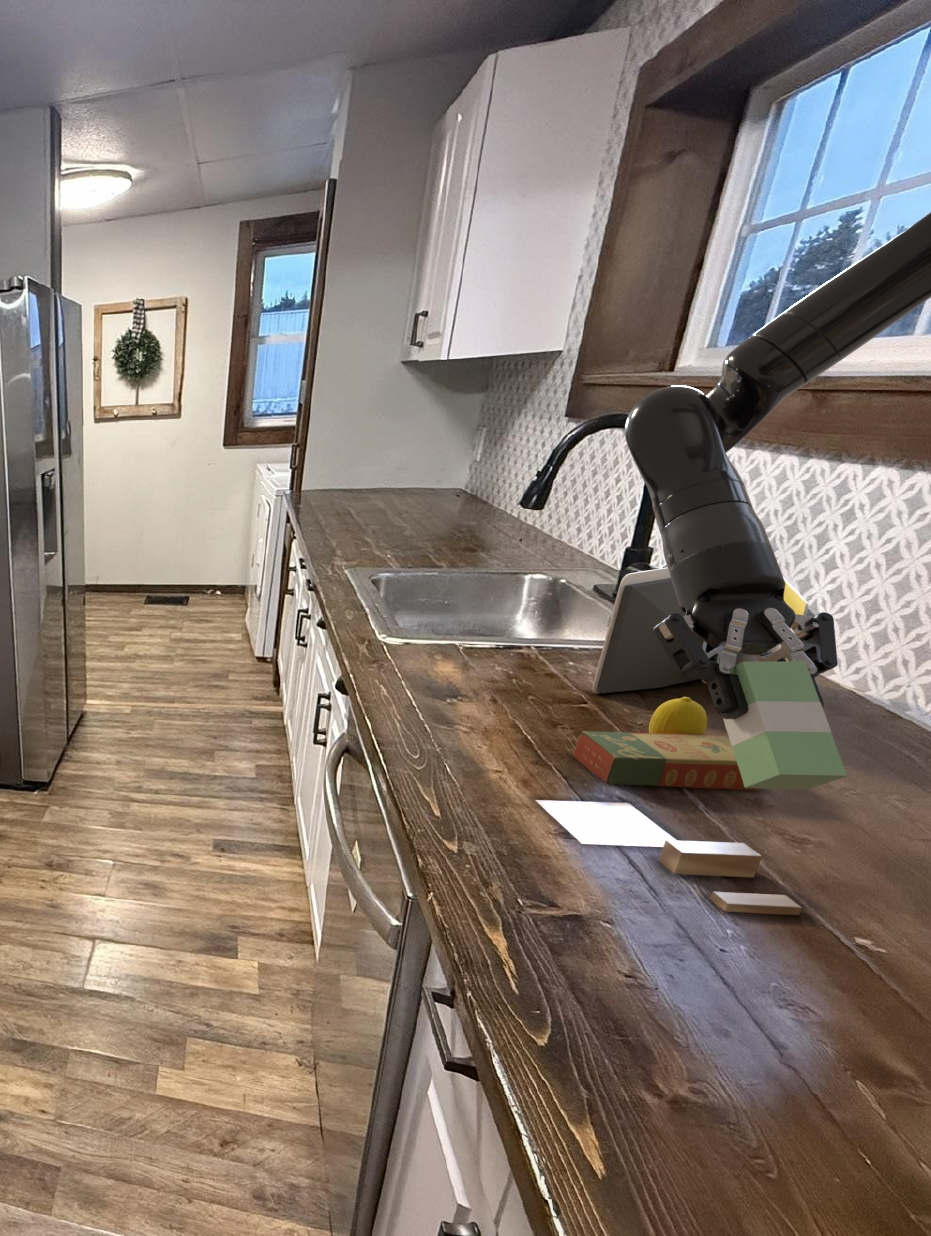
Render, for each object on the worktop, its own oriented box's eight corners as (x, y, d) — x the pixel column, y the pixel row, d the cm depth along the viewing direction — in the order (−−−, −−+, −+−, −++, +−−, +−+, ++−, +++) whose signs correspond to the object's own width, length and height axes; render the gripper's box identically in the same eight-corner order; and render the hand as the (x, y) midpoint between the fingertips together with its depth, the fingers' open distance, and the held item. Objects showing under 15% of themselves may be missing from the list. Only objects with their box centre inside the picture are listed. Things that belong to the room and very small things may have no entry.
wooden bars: (657, 863, 80) (665, 839, 79) (734, 866, 79) (743, 842, 78) (717, 914, 72) (727, 888, 71) (804, 918, 71) (815, 892, 70)
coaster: (627, 805, 91) (628, 802, 91) (686, 851, 82) (687, 848, 81) (534, 802, 92) (534, 799, 92) (581, 847, 83) (582, 844, 83)
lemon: (704, 763, 99) (724, 706, 96) (652, 759, 101) (670, 703, 98) (684, 746, 104) (702, 691, 101) (634, 742, 106) (651, 688, 103)
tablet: (795, 747, 103) (853, 604, 95) (591, 718, 114) (628, 588, 107) (745, 671, 129) (787, 554, 121) (583, 653, 141) (612, 545, 133)
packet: (686, 751, 78) (720, 652, 74) (743, 752, 77) (781, 652, 73) (768, 802, 68) (812, 691, 64) (835, 804, 67) (884, 691, 63)
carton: (758, 793, 92) (771, 761, 90) (604, 786, 95) (614, 755, 94) (712, 763, 99) (723, 732, 98) (571, 757, 103) (579, 728, 101)
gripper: (662, 540, 75) (713, 699, 68) (835, 536, 72) (904, 701, 66) (615, 582, 82) (656, 730, 75) (771, 580, 79) (828, 733, 73)
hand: (772, 715), depth 71 cm, fingers closed on packet, 5 cm apart
